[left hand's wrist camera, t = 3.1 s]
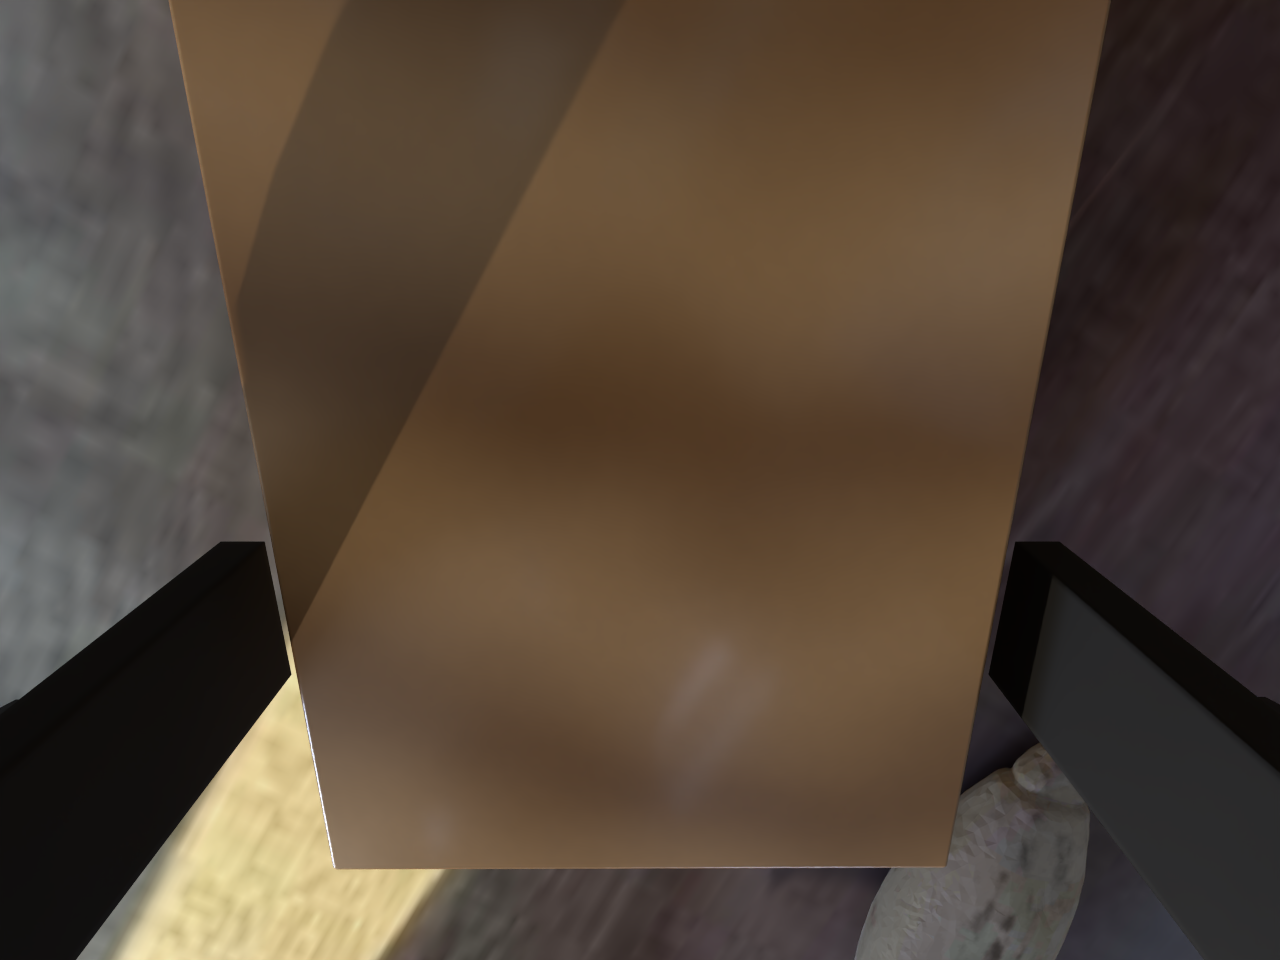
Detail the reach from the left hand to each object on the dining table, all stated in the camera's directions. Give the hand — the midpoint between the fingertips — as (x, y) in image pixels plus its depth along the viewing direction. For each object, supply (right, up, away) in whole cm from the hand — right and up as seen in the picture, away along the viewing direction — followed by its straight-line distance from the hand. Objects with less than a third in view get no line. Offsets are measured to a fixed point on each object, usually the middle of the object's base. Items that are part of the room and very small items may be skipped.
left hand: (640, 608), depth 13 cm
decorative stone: (+12, -13, +15) cm, 23 cm away
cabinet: (0, +7, +7) cm, 10 cm away
